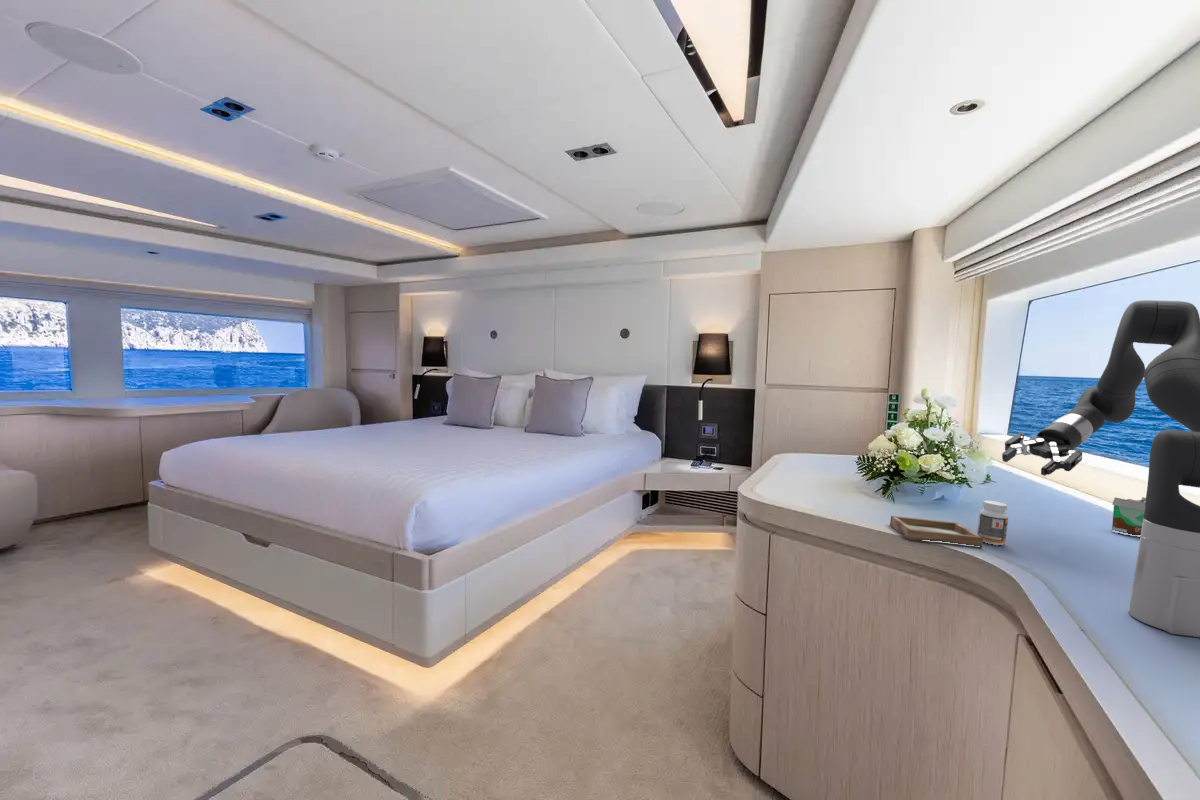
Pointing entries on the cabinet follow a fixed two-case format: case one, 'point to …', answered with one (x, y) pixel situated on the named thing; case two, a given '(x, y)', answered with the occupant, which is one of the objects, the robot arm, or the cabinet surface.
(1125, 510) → the food container
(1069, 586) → the cabinet surface
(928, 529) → the tray
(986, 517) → the pill bottle
